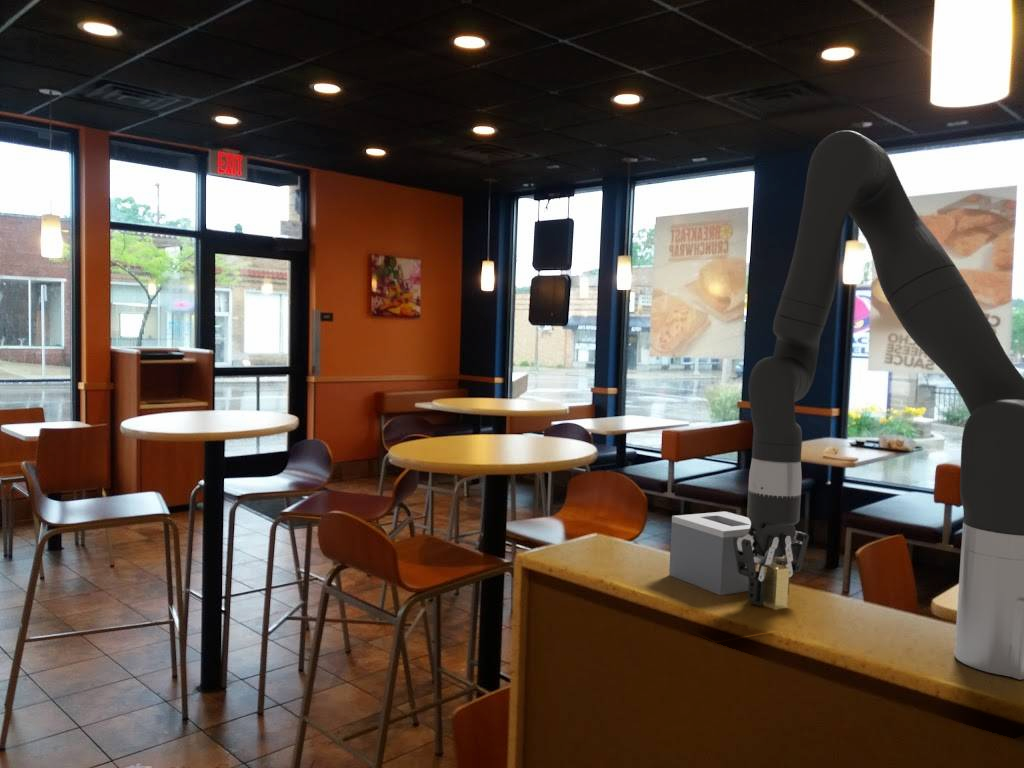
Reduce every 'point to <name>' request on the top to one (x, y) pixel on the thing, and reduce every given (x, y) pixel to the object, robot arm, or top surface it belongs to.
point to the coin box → (708, 551)
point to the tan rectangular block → (776, 586)
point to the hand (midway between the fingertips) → (768, 601)
